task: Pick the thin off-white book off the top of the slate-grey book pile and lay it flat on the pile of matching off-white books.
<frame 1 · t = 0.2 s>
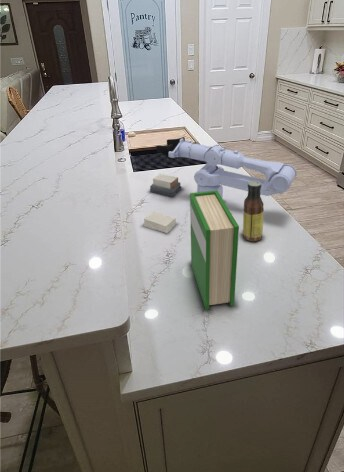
hand: (162, 145, 129), 21 cm above the worktop, tool horizontal, fingers open, 7 cm apart
sauce bottle: (251, 237, 109), on the worktop
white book: (165, 184, 139), point 3 cm above the worktop, touching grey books
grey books: (166, 190, 141), on the worktop
hardback book: (210, 283, 90), on the worktop
white books: (159, 225, 117), on the worktop
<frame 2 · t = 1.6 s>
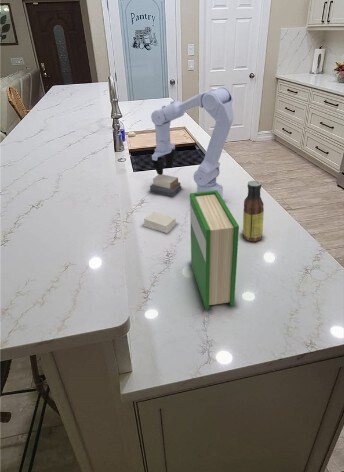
hand: (164, 170, 136), 9 cm above the worktop, tool pointing down, fingers open, 7 cm apart
nothing on the worktop moved.
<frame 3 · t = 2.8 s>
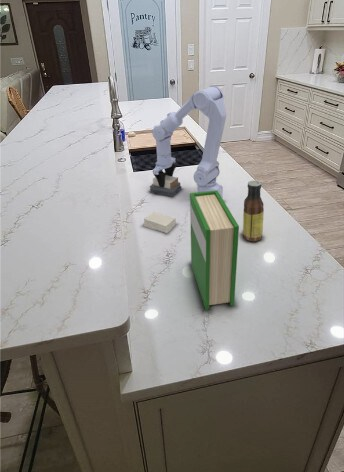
hand: (165, 183, 139), 3 cm above the worktop, tool pointing down, fingers closed on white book, 5 cm apart
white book: (165, 184, 139), point 3 cm above the worktop, touching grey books, gripper
everything else where it was.
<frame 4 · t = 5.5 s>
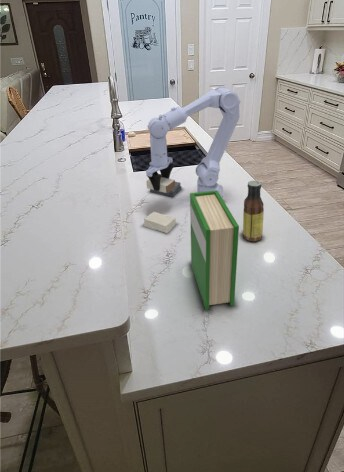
hand: (161, 186, 122), 10 cm above the worktop, tool pointing down, fingers closed on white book, 5 cm apart
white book: (161, 187, 122), point 9 cm above the worktop, touching gripper
everything else where it was.
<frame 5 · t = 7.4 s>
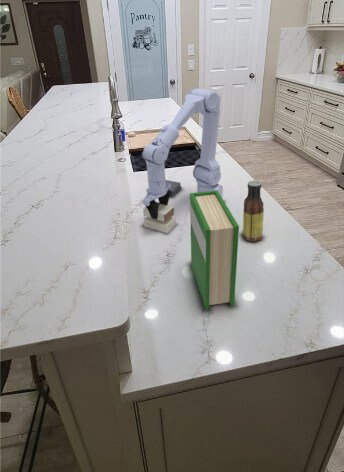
hand: (159, 214, 115), 5 cm above the worktop, tool pointing down, fingers closed on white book, 5 cm apart
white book: (158, 215, 115), point 4 cm above the worktop, touching gripper
everything else where it was.
when the fingers open (3 cm above the worktop, at t = 8.4 s): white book stays where it is, resting on white books.
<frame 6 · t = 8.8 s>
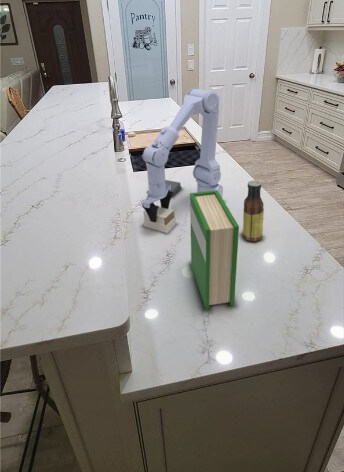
hand: (159, 216, 115), 4 cm above the worktop, tool pointing down, fingers open, 7 cm apart
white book: (159, 218, 116), point 3 cm above the worktop, touching white books
everything else where it was.
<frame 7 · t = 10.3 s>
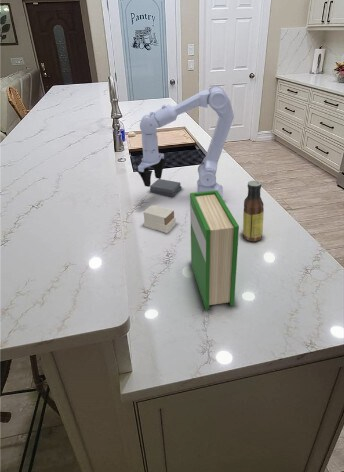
hand: (152, 182, 126), 10 cm above the worktop, tool pointing down, fingers open, 7 cm apart
nothing on the worktop moved.
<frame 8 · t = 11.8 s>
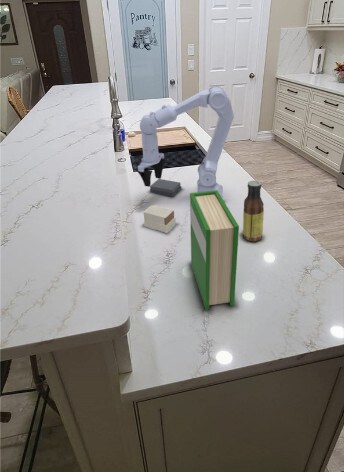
hand: (152, 181, 126), 10 cm above the worktop, tool pointing down, fingers open, 7 cm apart
nothing on the worktop moved.
at the end: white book 0.1 cm off-centre on the white books, point 3.0 cm above the white books's base; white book tilted 0° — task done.
